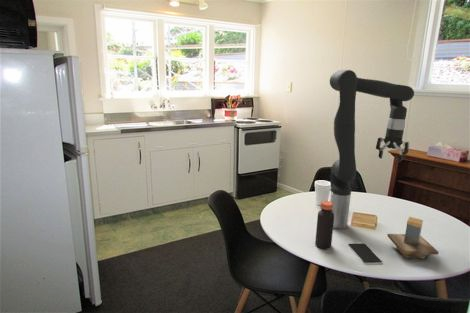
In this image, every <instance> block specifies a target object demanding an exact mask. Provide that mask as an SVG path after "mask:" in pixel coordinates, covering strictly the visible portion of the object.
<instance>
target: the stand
mask: <svg viewBox="0 0 470 313" xmlns="http://www.w3.org/2000/svg"><path fill="white" fill-rule="evenodd" d="M387 237H388V239H389V240H390V241H391V242H392V243H393V244H394V245H395V248H396V249H397V250H398V251H399V253H401V255H402V256H403V257H404V258H409V259H410V258H414V259H426V256H427V255H434V256H435V255H436V256H437V255H439V254H440V253H439V251H438V249H436V248H435V247H434V246H433V245H432V244H430V242H428V241H427V239H425V238H424V237H423V236H422V235H420V240H419V244H418V246H414V245H410V244H407V243H404V239H405V233H404V234H403V233H387Z"/></svg>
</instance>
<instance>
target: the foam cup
mask: <svg viewBox="0 0 470 313" xmlns="http://www.w3.org/2000/svg"><path fill="white" fill-rule="evenodd" d="M314 191H315V192H314V195H315V204H316V205H317V206H320V207H321V202H322V201H329V199H330V198H329V196H330V195H331V185H330V181H328V180H323V179H322V180H320V179H319V180H315V181H314Z"/></svg>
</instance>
